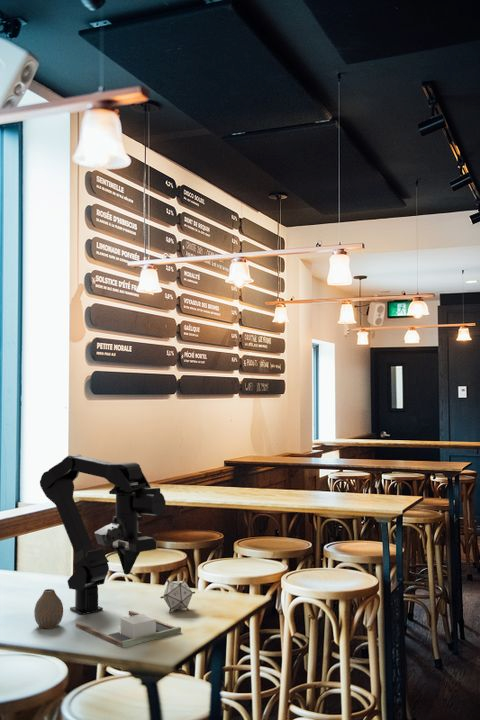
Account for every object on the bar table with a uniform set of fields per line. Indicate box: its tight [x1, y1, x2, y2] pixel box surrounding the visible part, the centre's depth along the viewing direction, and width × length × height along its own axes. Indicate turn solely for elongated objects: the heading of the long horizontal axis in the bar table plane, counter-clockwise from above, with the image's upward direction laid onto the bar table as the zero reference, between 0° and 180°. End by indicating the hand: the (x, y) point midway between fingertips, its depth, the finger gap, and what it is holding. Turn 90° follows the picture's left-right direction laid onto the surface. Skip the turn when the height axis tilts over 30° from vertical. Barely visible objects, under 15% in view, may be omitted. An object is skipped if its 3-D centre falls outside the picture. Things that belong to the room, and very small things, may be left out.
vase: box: [33, 588, 64, 630], centre depth 188 cm, size 7×7×9 cm
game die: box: [159, 577, 196, 613], centre depth 202 cm, size 9×8×10 cm
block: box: [120, 613, 157, 638], centre depth 181 cm, size 6×6×4 cm
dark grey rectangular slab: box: [108, 623, 170, 641], centre depth 181 cm, size 6×14×1 cm, turn 132°
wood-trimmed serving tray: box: [75, 610, 182, 648], centre depth 185 cm, size 21×16×1 cm
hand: (126, 574), depth 195 cm, fingers closed
